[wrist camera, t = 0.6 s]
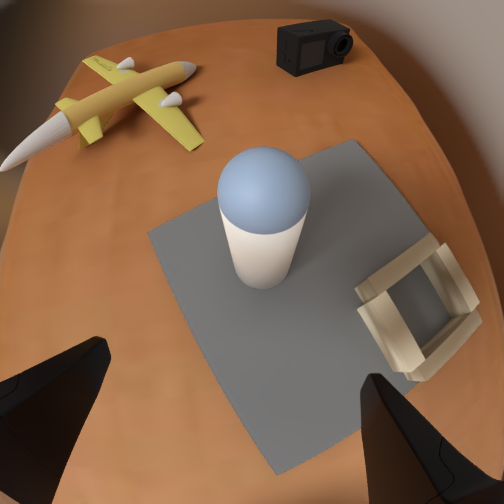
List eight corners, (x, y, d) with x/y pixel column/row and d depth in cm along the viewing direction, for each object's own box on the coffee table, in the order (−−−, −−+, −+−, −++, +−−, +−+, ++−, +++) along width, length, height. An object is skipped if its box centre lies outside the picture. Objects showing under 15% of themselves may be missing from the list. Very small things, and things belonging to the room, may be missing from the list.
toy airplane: (143, 61, 39) (-10, 144, 24) (148, 28, 33) (-24, 110, 18) (246, 139, 39) (63, 276, 24) (264, 103, 32) (41, 248, 17)
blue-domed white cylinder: (299, 272, 22) (339, 181, 11) (251, 299, 21) (242, 229, 10) (271, 228, 24) (281, 116, 12) (224, 252, 23) (194, 150, 12)
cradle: (466, 322, 20) (486, 316, 17) (401, 385, 18) (419, 387, 16) (419, 242, 23) (435, 228, 20) (347, 293, 21) (359, 283, 19)
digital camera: (300, 81, 33) (305, 40, 26) (275, 65, 35) (277, 26, 28) (348, 67, 35) (356, 31, 28) (324, 52, 37) (329, 18, 30)
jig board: (473, 320, 21) (479, 318, 20) (276, 470, 17) (276, 475, 16) (351, 144, 28) (353, 138, 27) (151, 237, 25) (147, 232, 24)
